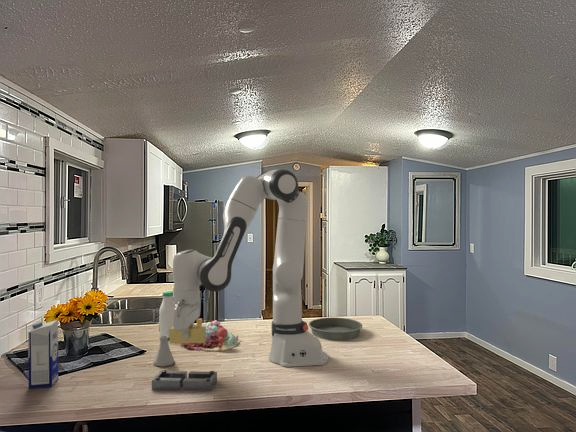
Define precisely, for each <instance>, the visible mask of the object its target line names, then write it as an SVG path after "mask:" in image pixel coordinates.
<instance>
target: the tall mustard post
mask: <svg viewBox="0 0 576 432" xmlns="http://www.w3.org/2000/svg"><path fill="white" fill-rule="evenodd" d="M169 331H170V338H169V344H181V343H205V342H206V325H205V326H202V325H201V326H199V327H189V329H188V331H189V333H190V335H189V336H190V337H189V339H183V333H182V331H175V330H174V327H171V328H170V329H169Z"/></svg>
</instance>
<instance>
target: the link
mask: <svg viewBox="0 0 576 432" xmlns="http://www.w3.org/2000/svg"><path fill="white" fill-rule="evenodd" d="M185 378H188V371H186V370H185V371H184V370H166V369H163V370H160V371H158V373H156V375H155V376H154V377H153V378H152V379H151V390H152V391H181V390H182V389H183V380H184V379H185Z"/></svg>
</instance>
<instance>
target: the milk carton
mask: <svg viewBox="0 0 576 432" xmlns="http://www.w3.org/2000/svg"><path fill="white" fill-rule="evenodd" d="M58 326H59V320H58V319H57V320H52V321H48V322H45V323H43V322H42V321H41V322H38V323H35V324H33V325H32V329H30V330H29V331H27V340H28V341H27V346H28V347H27V348H28V349H27V353H28V354H27V355H28V357H27V359H28V363H27V366H28V389H39V388H41V389H42V388H52V387H53V386H54V385H55V383H56V382H57V381H58V379H59V337H58V336H59V330H58V329H59V327H58Z"/></svg>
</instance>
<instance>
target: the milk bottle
mask: <svg viewBox="0 0 576 432" xmlns="http://www.w3.org/2000/svg"><path fill="white" fill-rule="evenodd" d="M176 307H177V306H176V304H174V296H173V290H172V291H171V290H169V291H163V292H162V303H160V306H159V313H158V320H159V321H158V338H159V337H160V336H169V338H168V339H170V331H169V329H170V328H171V327H174V309H175V308H176Z"/></svg>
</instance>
